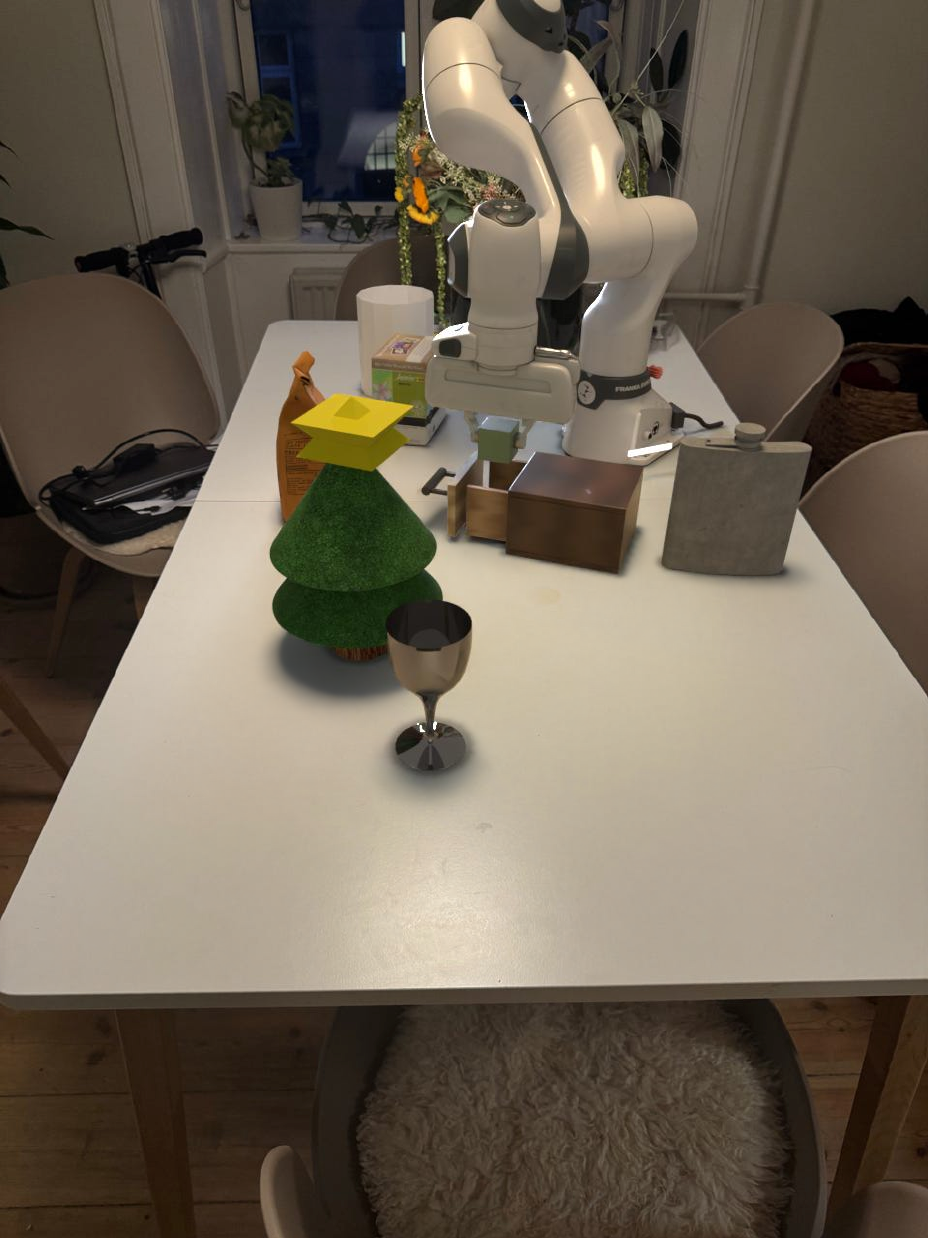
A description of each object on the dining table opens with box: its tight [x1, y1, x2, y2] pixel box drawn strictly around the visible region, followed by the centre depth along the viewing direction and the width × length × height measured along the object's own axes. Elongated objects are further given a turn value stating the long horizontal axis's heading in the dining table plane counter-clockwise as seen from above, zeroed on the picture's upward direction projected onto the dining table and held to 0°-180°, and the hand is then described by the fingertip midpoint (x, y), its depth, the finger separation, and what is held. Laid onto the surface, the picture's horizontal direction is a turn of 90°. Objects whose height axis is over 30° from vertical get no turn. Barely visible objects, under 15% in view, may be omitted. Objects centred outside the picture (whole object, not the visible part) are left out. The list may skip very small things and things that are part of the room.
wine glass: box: [385, 599, 473, 772], centre depth 84 cm, size 8×8×15 cm
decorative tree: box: [268, 392, 444, 662], centre depth 94 cm, size 19×19×30 cm
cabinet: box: [505, 450, 645, 575], centre depth 121 cm, size 16×14×10 cm
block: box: [477, 416, 520, 464], centre depth 119 cm, size 4×4×4 cm
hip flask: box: [660, 422, 813, 576], centre depth 112 cm, size 16×4×20 cm, turn 85°
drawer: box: [420, 449, 529, 542], centre depth 124 cm, size 19×12×8 cm, turn 71°
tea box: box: [371, 334, 447, 446], centre depth 153 cm, size 15×10×15 cm, turn 168°
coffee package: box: [275, 350, 327, 522], centre depth 125 cm, size 10×12×22 cm
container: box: [355, 284, 435, 398], centre depth 169 cm, size 14×14×18 cm
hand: (498, 444), depth 120 cm, fingers closed on block, 4 cm apart
